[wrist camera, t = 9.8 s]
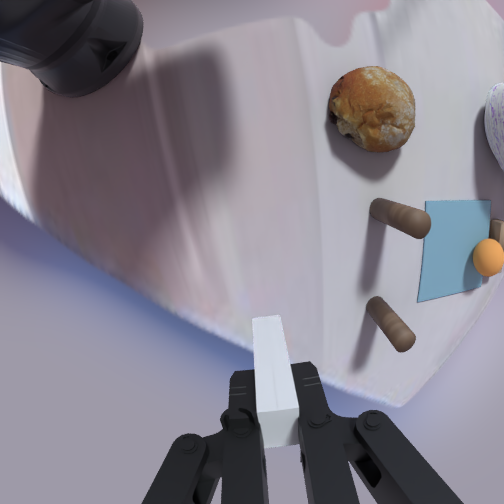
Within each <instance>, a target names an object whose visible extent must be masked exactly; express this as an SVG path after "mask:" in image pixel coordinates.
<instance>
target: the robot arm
mask: <svg viewBox="0 0 504 504" xmlns="http://www.w3.org/2000/svg"><path fill="white" fill-rule="evenodd" d="M142 33H143V18H142V15H141V12H140V11H139V9H138V8H137V7H136V5H135V4H134V3H133V1H132V0H0V61H1V62H5V63H8V64H12V65H16V66H19V67H23V68H26V69H29V70H30V71H31V72H32V73H33V74H34V75H35V76H36V77H37V78H38V79H39V80H40V82H41V83H42V84H43V86H44V87H45V88H46V89H48V90H49V91H51V92H53V93H55V94H59V95H62V96H66V97H78V96H83V95H86V94H89V93H91V92H93V91H96V90H97V89H99V88H101V87H102V86H104V85H105V84H107V83H108V82H109V81H111V80H112V79H113V78H114V77H115V76H116V75H117V74H118V73H119V72H120V71H121V70H122V69H123V68H124V67H125V66H126V64H127V63H128V62H129V61H130V59H131V58H132V56H133V55H134V53H135V51H136V49H137V47H138V45H139V43H140V40H141V37H142ZM252 325H253V345H254V366H255V369H254V370H245V371H244V370H243V371H235V372H234V373H233V375H232V376H231V378H230V389H229V408H228V409H227V410H225V411H224V412H223V414H222V415H221V418H220V421H221V424H222V427H223V429H222V430H221V431H220V432H218V433H216V434H214V435H210V436H206V437H203V438H202V437H201V436H199V435H196V434H189V433H188V434H185V435H181V436H180V437H178V438H177V439H176V440H175V441H174V442H173V444H172V446H171V448H170V450H169V452H168V454H167V456H166V458H165V460H164V462H163V464H162V466H161V468H160V469H159V471H158V473H157V475H156V477H155V479H154V481H153V483H152V485H151V487H150V489H149V490H148V492H147V494H146V496H145V498H144V500H143V502H142V504H210V503H211V501H212V498H213V495H214V492H215V490H216V487H217V485H218V482H219V479H220V477H222V494H221V504H269V499H268V485H267V472H266V459H265V455H264V448H272V447H281V446H288V445H296V444H299V443H300V449H301V462H302V466H303V473H304V478H305V485H306V491H307V498H308V504H360V503H359V500H358V496H357V492H356V488H355V485H354V481H353V478H352V474H351V471H350V467H349V463H348V461H349V462H350V463H351V465H352V466H353V468H354V469H355V471H356V472H357V474H358V475H359V477H360V478H361V480H362V481H363V483H364V484H365V486H366V487H367V489H368V490H369V492H370V493H371V495H372V496H373V498H374V499H375V501H376V502H377V504H464V503H463V502H462V501H461V500H460V499H459V498H458V497H457V495H456V494H455V493H454V492H453V491H452V490H451V489H450V487H449V486H448V485H447V484H446V483H445V482H444V481H443V480H442V478H441V477H440V476H439V475H438V474H437V473H436V471H435V470H434V469H433V468H432V467H431V466H430V465H429V463H428V462H427V461H426V460H425V459H424V458H423V457H422V455H421V454H420V453H419V452H418V451H417V450H416V448H415V447H414V446H413V445H412V444H411V443H410V442H409V440H408V439H407V438H406V437H405V436H404V435H403V433H402V432H401V431H400V430H399V429H398V428H397V427H396V425H394V423H393V422H392V421H391V420H390V419H389V417H388V416H387V415H386V414H384V413H383V412H381V411H378V410H369V411H366V412H363V413H362V414H361V415H359V417H358V418H348V417H341V416H338V415H336V414H334V413H333V412H332V411H331V410H330V409H329V407H328V404H327V400H326V397H325V394H324V391H323V387H322V384H321V381H320V378H319V374H318V371H317V368H316V367H315V366H314V365H313V364H312V363H311V362H310V361H309V362H302V363H296V364H290V361H289V356H288V351H287V346H286V342H285V337H284V332H283V327H282V323H281V318H280V315H273V316H265V317H257V318H252Z"/></svg>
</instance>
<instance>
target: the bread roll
mask: <svg viewBox="0 0 504 504" xmlns="http://www.w3.org/2000/svg"><path fill="white" fill-rule="evenodd" d="M329 108H330V115H329V120H330V121H331V123H333V124H335V125H337V127H338V130H339V132H340V133H341V134H342V135H343V136H345V137H347V138H350V139H351V140H352V141H353V142H355V144H357V145H358V146H360V147H362V148H364V149H366V150H367V151H371V152H389V151H391V150H395V149H398V148H400V147H401V146H403V145H404V144H405V143H406V142H407V140H408V139H409V137H410V135H411V133H412V131H413V129H414V127H415V99H414V96H413V93H412V91H411V89H410V88H409V86H408V85H407V84H406V83H405V82H404V81H403V80H402V79H401V78H400V77H399V76H397V75H396V74H395V73H392V72H390V71H388V70H386V69H385V68H382V67H378V66H370V67H363V68H358V69H355V70H353V71H351V72H348V73H347V74H345V75H344V76H342V77H341V78H340V79H339V80H338V81H337V82H336V83H335V84H334V85H333V87H332V89H331V93H330V101H329Z"/></svg>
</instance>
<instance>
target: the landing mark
mask: <svg viewBox="0 0 504 504" xmlns="http://www.w3.org/2000/svg"><path fill="white" fill-rule="evenodd" d="M490 210H491V200H459V201H425V212H427V213H428V214H429V216H430V218H431V229H430V231H429V233H428V234H427V236H426V237H424V247H423V259H422V269H421V277H420V285H419V292H418V299H417V302H421V301H425V300H430V299H434V298H439V297H443V296H447V295H451V294H455V293H459V292H463V291H467V290H471V289H474V288H478V287H481V283H482V278H483V275H481V274H480V273H479V272H478V271H477V270H476V268H475V266H474V263H473V252H474V249H475V247H476V245H477V244H478V243H479V242H480V241H482V240H484V239H488V236H489V225H490Z"/></svg>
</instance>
